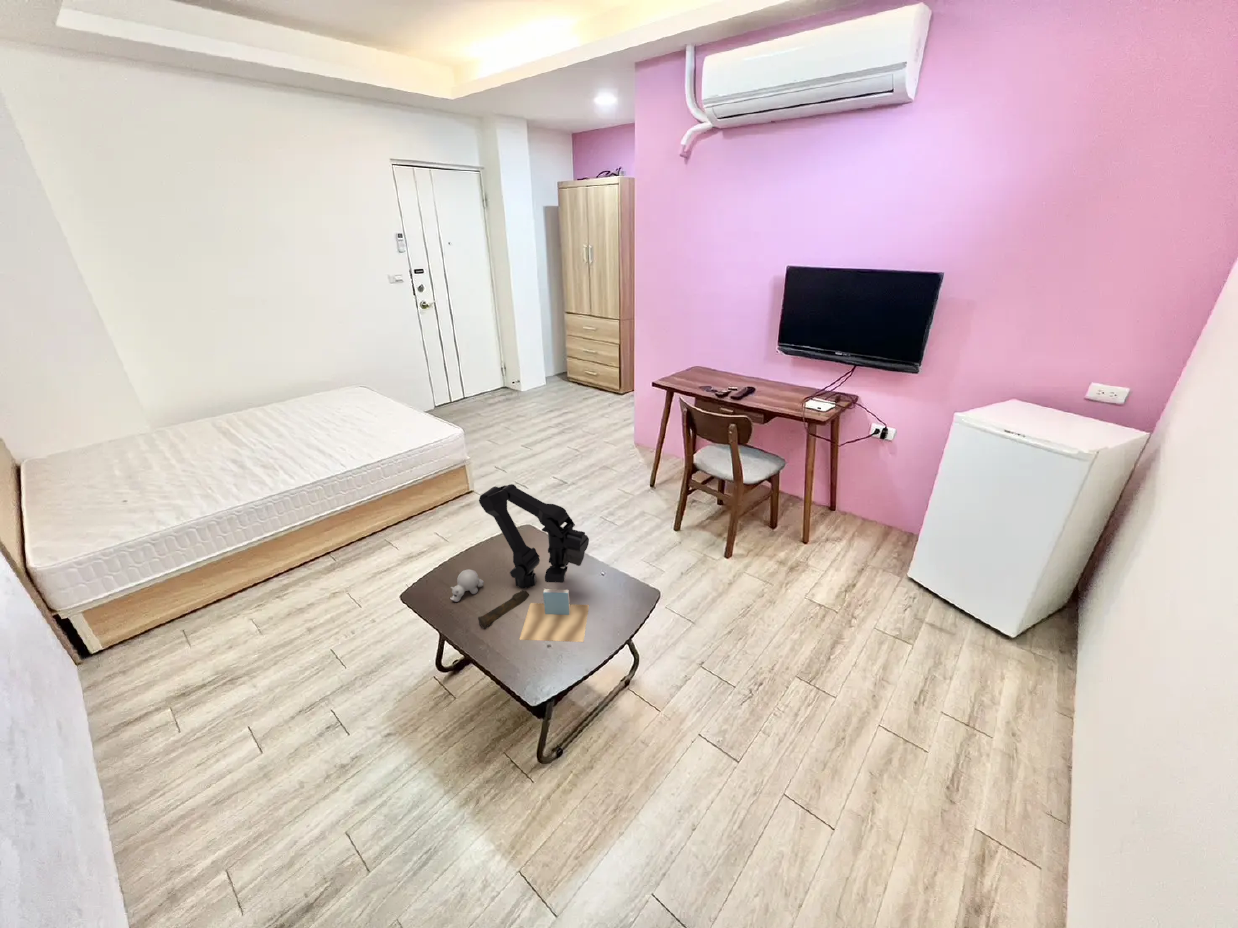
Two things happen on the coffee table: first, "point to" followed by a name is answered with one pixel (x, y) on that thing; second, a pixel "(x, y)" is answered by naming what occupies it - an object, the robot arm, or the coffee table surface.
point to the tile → (556, 602)
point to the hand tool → (503, 608)
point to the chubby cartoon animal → (466, 584)
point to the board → (555, 624)
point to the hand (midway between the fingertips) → (560, 581)
